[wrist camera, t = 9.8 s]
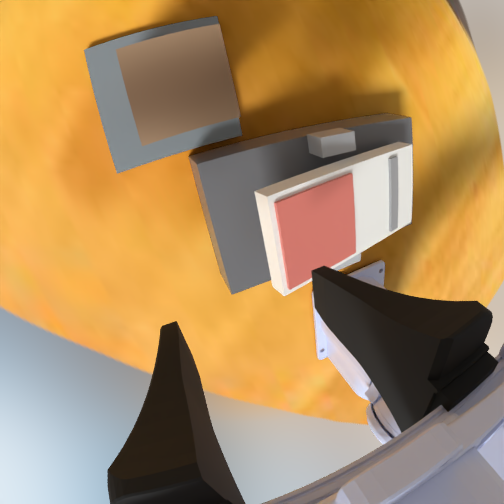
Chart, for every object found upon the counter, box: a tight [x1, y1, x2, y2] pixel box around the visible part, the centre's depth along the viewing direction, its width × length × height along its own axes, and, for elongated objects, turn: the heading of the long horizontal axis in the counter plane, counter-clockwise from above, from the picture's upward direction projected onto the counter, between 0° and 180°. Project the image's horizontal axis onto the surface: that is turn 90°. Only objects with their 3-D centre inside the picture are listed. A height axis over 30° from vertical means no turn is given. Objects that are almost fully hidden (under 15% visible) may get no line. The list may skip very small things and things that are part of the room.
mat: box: [84, 16, 242, 174], centre depth 17 cm, size 8×8×1 cm
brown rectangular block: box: [116, 24, 241, 146], centre depth 13 cm, size 4×4×7 cm
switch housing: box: [189, 113, 413, 294], centre depth 21 cm, size 9×16×4 cm, turn 100°
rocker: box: [254, 142, 413, 296], centre depth 19 cm, size 6×12×1 cm, turn 100°
